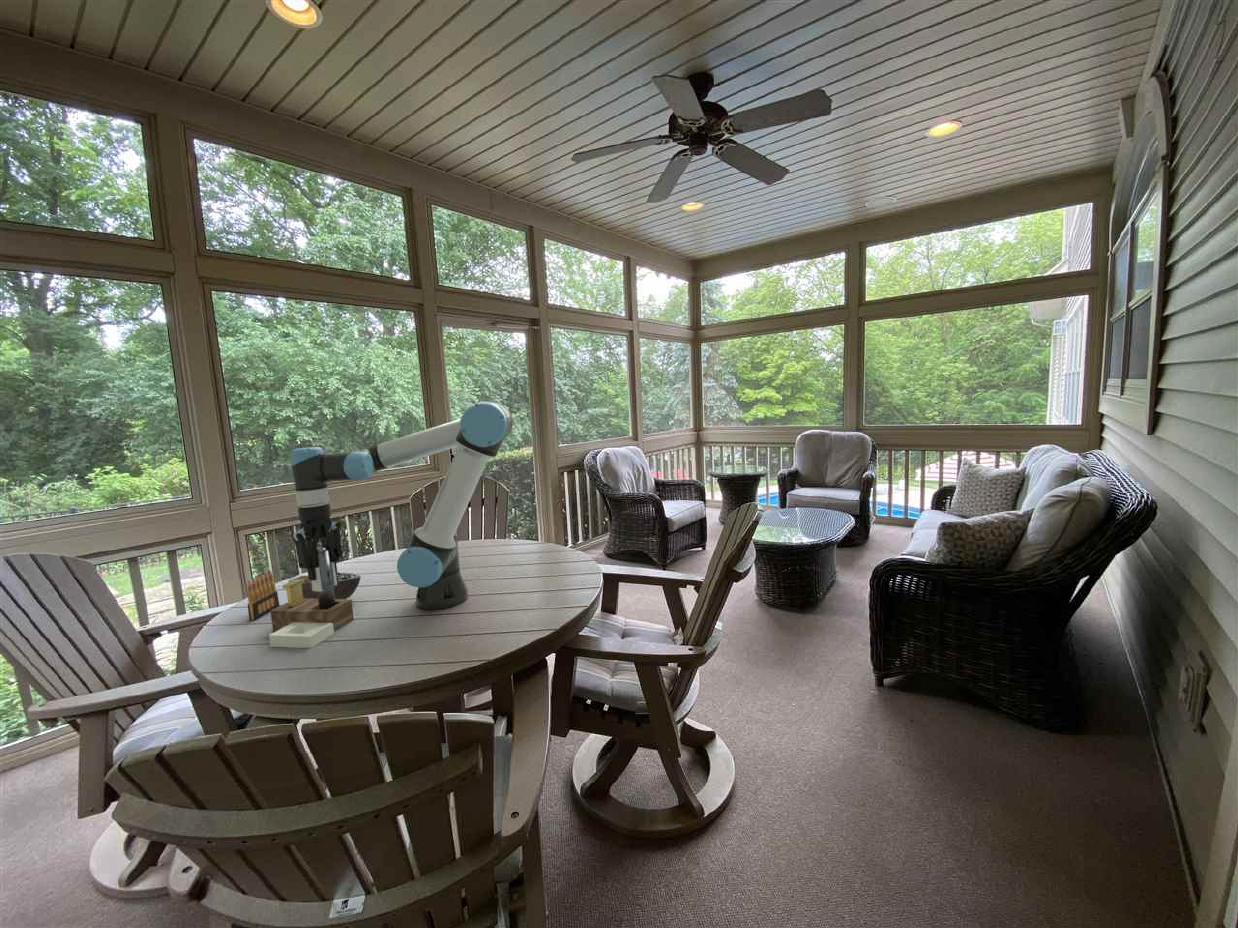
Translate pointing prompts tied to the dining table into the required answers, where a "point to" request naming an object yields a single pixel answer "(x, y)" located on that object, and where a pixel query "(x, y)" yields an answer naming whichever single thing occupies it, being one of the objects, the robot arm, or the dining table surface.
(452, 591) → the robot arm
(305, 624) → the block
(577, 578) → the dining table surface
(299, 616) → the socket block
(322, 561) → the grey metal cylinder
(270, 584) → the ammunition clip
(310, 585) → the planter
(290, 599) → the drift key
